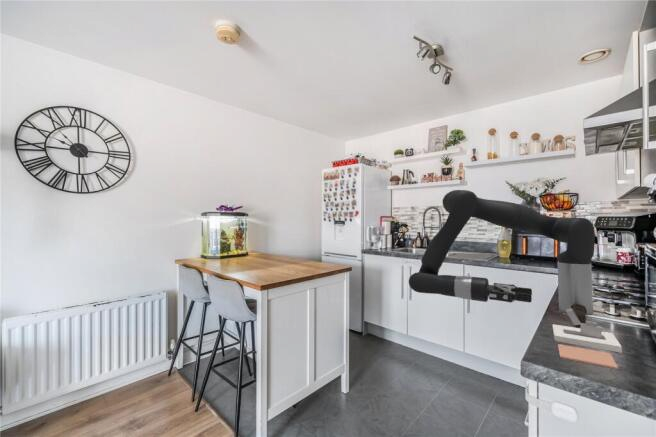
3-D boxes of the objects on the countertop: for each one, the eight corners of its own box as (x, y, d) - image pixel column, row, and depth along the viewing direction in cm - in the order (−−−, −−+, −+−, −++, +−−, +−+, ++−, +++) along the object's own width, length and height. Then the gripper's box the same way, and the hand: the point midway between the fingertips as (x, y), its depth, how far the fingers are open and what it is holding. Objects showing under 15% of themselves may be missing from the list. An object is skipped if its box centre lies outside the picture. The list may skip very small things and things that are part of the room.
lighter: (601, 342, 77) (600, 312, 77) (601, 344, 75) (600, 314, 76) (567, 335, 82) (566, 307, 82) (566, 337, 80) (565, 308, 80)
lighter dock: (552, 329, 86) (552, 324, 86) (612, 338, 79) (612, 333, 79) (554, 341, 78) (554, 335, 78) (621, 352, 71) (621, 346, 71)
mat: (557, 345, 76) (557, 343, 76) (610, 355, 70) (610, 353, 70) (560, 357, 69) (560, 356, 69) (618, 369, 63) (618, 367, 63)
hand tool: (571, 314, 100) (570, 301, 100) (586, 316, 97) (586, 303, 97) (568, 331, 86) (567, 315, 86) (586, 334, 83) (585, 318, 83)
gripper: (467, 280, 89) (531, 287, 79) (474, 273, 100) (531, 278, 91) (467, 304, 89) (531, 314, 79) (475, 295, 100) (532, 302, 91)
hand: (531, 295), depth 85 cm, fingers open, 8 cm apart
